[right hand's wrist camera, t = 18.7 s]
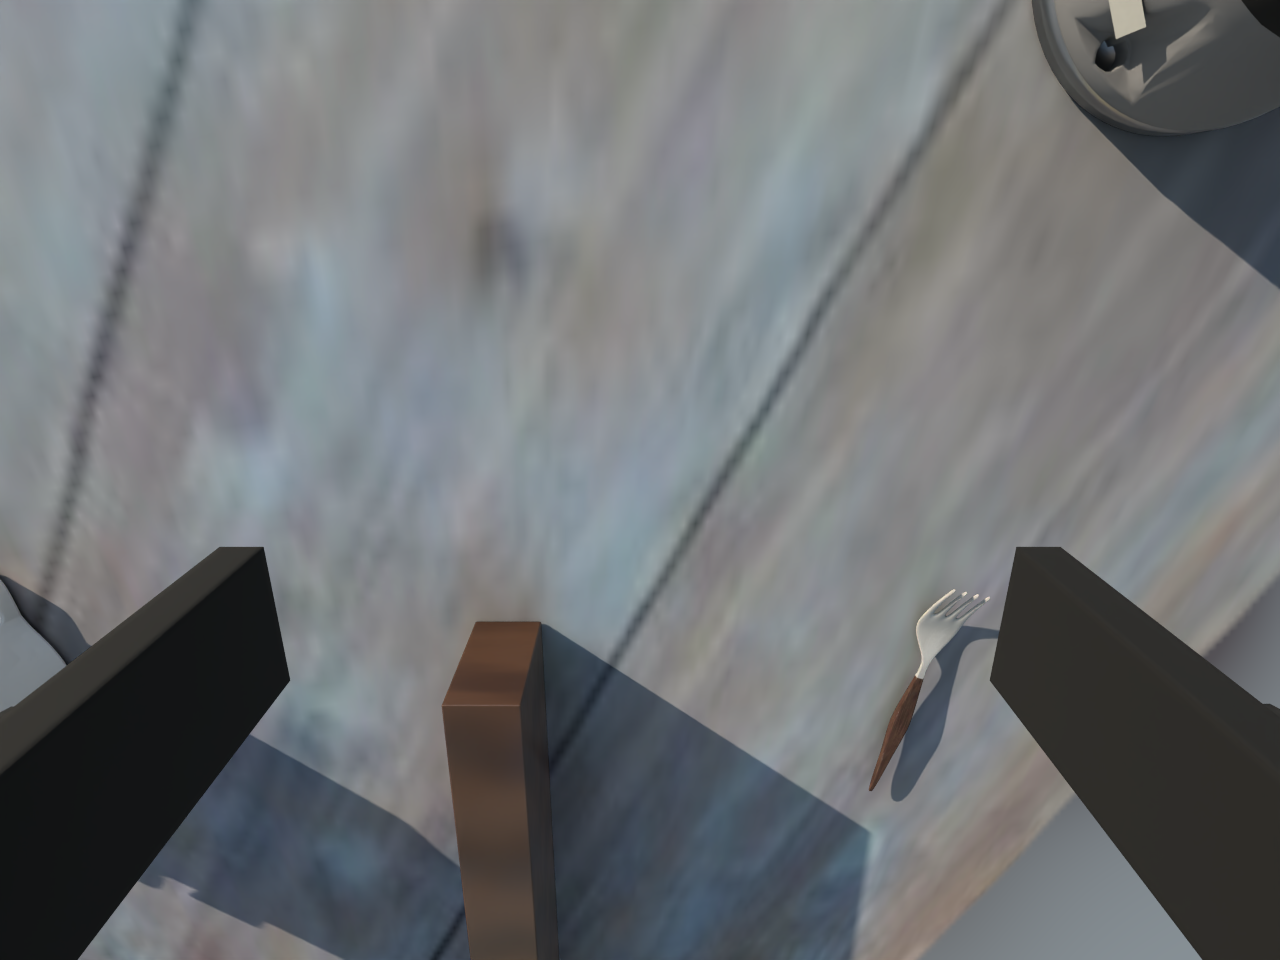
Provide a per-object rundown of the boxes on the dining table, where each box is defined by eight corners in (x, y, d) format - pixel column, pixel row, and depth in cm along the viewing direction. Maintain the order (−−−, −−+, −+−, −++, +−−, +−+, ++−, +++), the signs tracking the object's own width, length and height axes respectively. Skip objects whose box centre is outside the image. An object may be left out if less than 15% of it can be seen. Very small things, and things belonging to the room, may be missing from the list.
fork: (848, 781, 47) (857, 804, 45) (937, 572, 42) (951, 589, 40) (886, 788, 47) (896, 811, 46) (978, 581, 42) (994, 598, 40)
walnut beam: (475, 621, 43) (441, 705, 36) (541, 621, 43) (520, 705, 36) (518, 1103, 59) (501, 1231, 52) (567, 1103, 59) (556, 1231, 52)
